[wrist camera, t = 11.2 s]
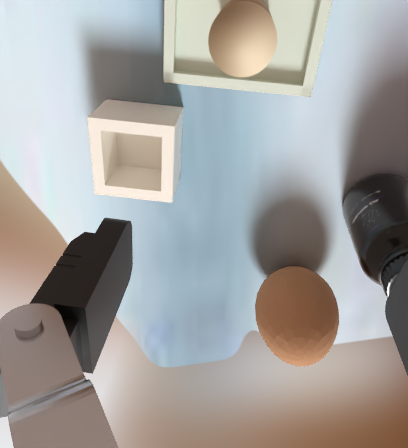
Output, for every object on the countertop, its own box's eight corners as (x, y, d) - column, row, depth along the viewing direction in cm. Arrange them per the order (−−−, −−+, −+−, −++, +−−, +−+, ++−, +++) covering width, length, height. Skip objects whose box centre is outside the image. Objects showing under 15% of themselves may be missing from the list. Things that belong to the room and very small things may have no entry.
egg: (298, 312, 48) (310, 398, 38) (240, 283, 46) (238, 365, 37) (344, 269, 43) (371, 353, 34) (283, 235, 42) (293, 314, 32)
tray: (339, -55, 28) (345, -55, 26) (307, 90, 33) (310, 97, 31) (170, -69, 28) (165, -71, 26) (167, 76, 34) (163, 82, 32)
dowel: (273, -8, 29) (283, 6, 19) (265, 46, 31) (270, 80, 21) (224, -12, 29) (211, -1, 20) (219, 41, 31) (205, 73, 22)
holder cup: (183, 107, 35) (174, 126, 31) (180, 177, 39) (172, 202, 35) (106, 99, 35) (87, 117, 31) (110, 169, 39) (94, 193, 35)
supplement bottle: (346, 171, 37) (382, 248, 27) (422, 171, 36) (488, 250, 26) (336, 231, 41) (364, 318, 31) (405, 232, 40) (457, 321, 30)
